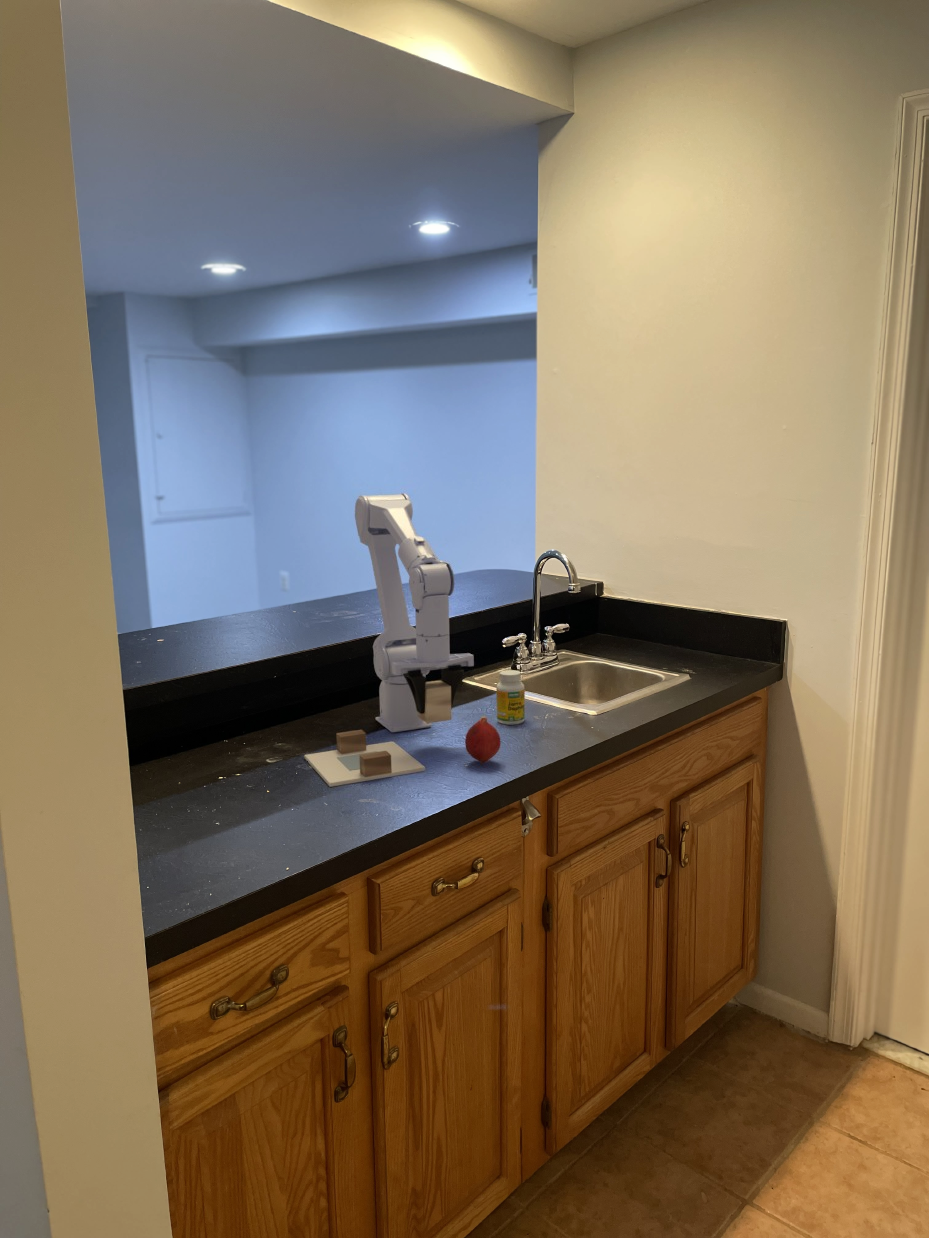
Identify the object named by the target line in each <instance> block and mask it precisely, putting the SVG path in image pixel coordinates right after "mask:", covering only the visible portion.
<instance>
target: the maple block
mask: <svg viewBox="0 0 929 1238" xmlns="http://www.w3.org/2000/svg"><path fill="white" fill-rule="evenodd" d="M418 717H419V718H420V719H422V720H423V721H425V722H426V723H430V724H433V723H439V722H446V721H447V722H448V721H452V709H451V686H450V685H448V684H446V683H444V682H443V681H442V679H441V680H431V681H426V684H425V713H423V714H420V713H419V712H418Z"/></svg>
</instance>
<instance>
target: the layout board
mask: <svg viewBox="0 0 929 1238" xmlns="http://www.w3.org/2000/svg"><path fill="white" fill-rule="evenodd" d="M380 751H387V752H388V753H389V754H391V769H392V773H388V774H382V775H376V776H370V777H364V776H363V775H362V774H361V773H360V757H359V755H361V754H367V753H374V752H380ZM304 759H305V761H306V762H307V761H308V762H307V763H308V764H309V765H310V767H312V768H313V770H314V771H315V772H316V773H317V774H318V775H319V777H321V779H322V780H323V781H324V782H325V783H326V784H327V786H329V787H330V788H331V787H336V786H344V785H349V784H355V783H360V782H365V781H366V782H367V781H372V780H378V779H383V778H389V777H396V776H402V775H407V774H413V773H418V772H419V773H420V772H425V771H426V767H425V766H424V765H423V764H422V763H420V762H419V761H418V760H417V759H416V758H414V756H411V754H409V753H408V752H407V751H406V750H404V749H403V748H402V747H400V746H399V745H398V744H397V743H396V742H394V740H393V741H388V742H387V741H386V742H379V743H374V744H373V743H372V744H366V750H364V751H357V752H351V753H345V754H341V753H340V752H339V751H338V750H337V749H334V750H329V751H328V750H327V751H321V752H315V753H308V754H304Z"/></svg>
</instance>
